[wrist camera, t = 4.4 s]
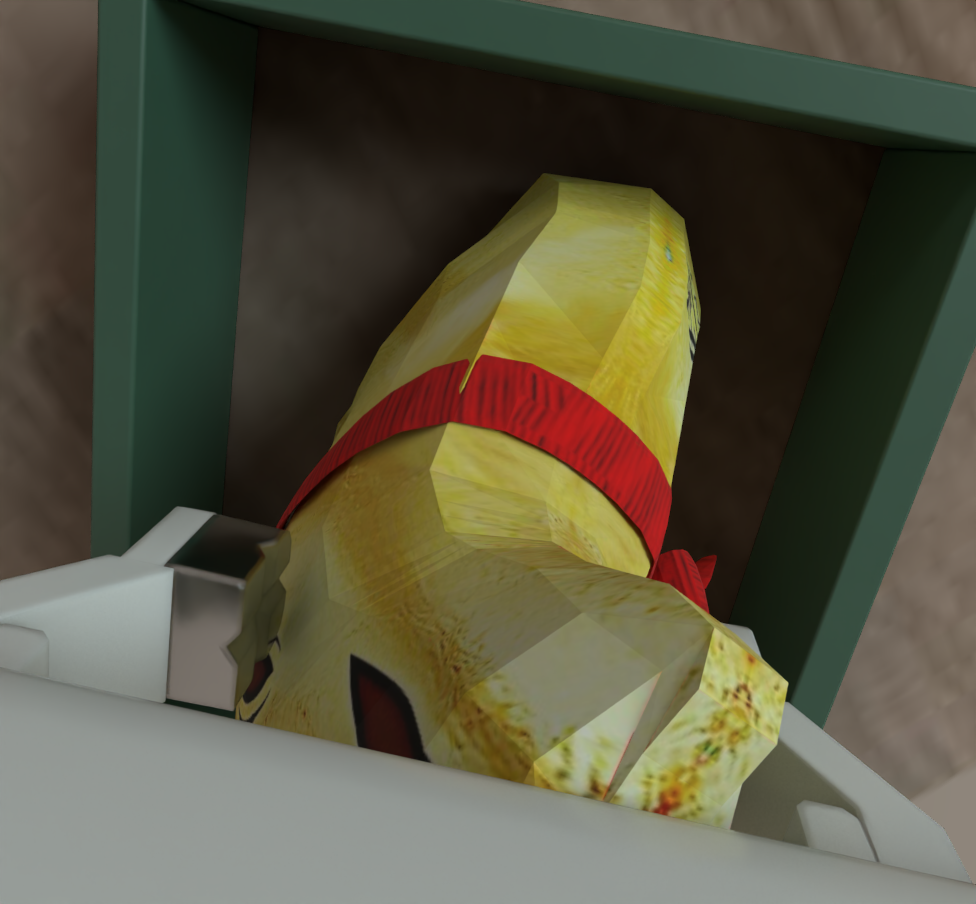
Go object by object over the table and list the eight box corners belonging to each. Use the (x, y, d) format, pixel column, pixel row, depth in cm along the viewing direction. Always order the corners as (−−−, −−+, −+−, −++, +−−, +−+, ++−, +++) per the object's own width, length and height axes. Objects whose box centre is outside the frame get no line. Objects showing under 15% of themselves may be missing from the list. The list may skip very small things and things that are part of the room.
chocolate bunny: (251, 480, 21) (-178, 1318, 7) (557, 103, 17) (874, 330, 4) (471, 627, 23) (465, 1503, 9) (786, 315, 19) (1556, 988, 5)
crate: (225, -24, 17) (96, -81, 13) (938, 113, 17) (1073, 105, 12) (186, 610, 23) (86, 732, 18) (725, 726, 22) (763, 880, 18)
